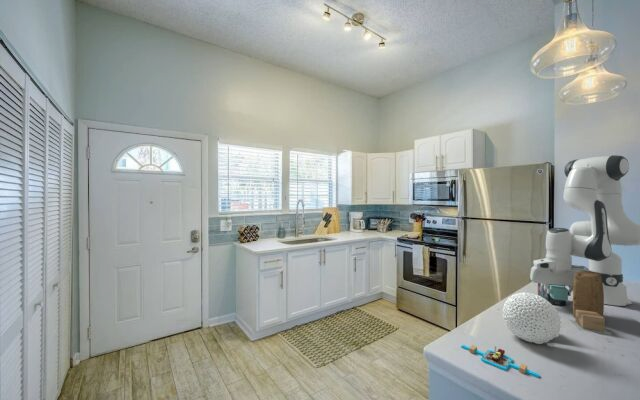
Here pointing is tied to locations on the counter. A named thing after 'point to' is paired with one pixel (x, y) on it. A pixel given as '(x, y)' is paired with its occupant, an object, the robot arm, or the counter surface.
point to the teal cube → (559, 292)
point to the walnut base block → (590, 320)
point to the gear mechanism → (496, 360)
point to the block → (588, 292)
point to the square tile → (589, 330)
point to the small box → (543, 293)
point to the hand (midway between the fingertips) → (558, 294)
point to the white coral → (531, 317)
